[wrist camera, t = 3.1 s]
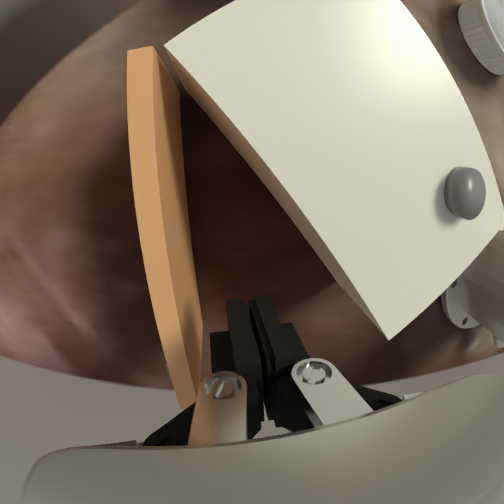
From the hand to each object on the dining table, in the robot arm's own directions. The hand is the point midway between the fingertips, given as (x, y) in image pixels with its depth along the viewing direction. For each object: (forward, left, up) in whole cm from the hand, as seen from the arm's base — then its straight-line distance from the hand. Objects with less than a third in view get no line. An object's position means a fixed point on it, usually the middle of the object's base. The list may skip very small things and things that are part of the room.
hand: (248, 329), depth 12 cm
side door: (+5, +1, -7) cm, 9 cm away
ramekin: (+2, -31, -8) cm, 33 cm away
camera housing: (+2, -9, -8) cm, 12 cm away
